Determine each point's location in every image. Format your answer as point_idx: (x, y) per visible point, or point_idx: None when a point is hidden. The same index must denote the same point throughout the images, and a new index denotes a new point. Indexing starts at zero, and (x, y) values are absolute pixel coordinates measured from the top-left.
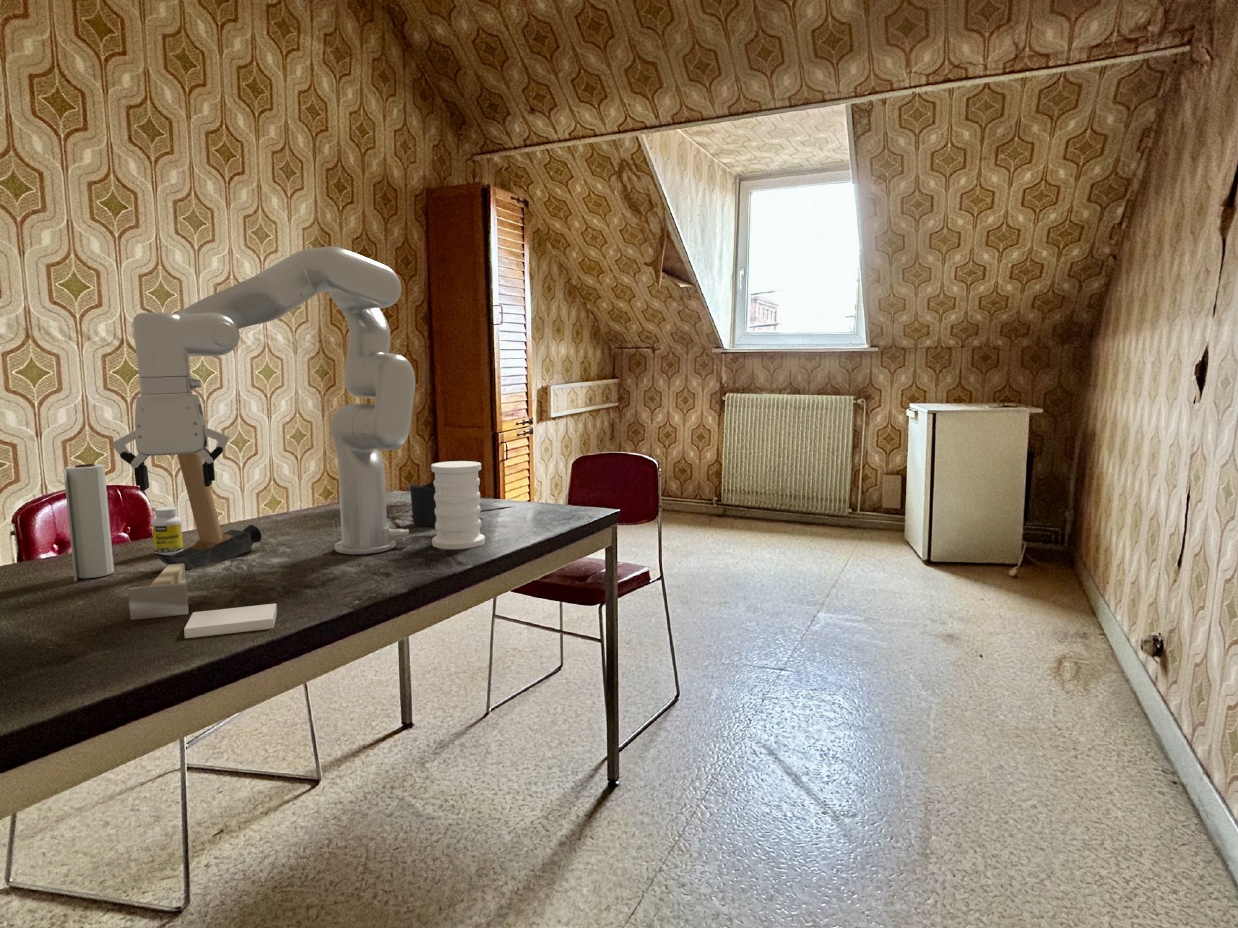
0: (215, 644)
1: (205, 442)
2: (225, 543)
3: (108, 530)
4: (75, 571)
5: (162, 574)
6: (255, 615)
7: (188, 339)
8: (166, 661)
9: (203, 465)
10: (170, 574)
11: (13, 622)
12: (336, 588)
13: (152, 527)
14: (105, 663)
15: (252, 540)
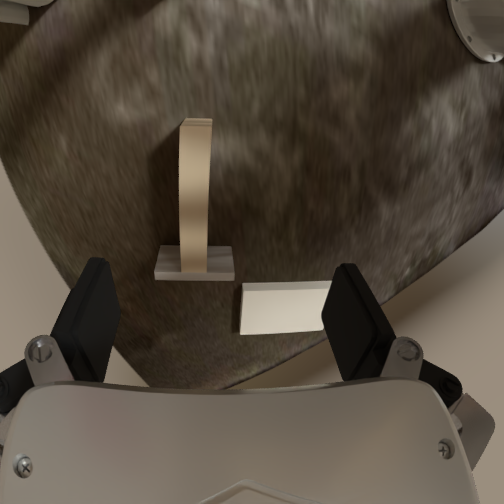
0: (267, 345)
1: (442, 404)
2: None
3: None
4: (20, 18)
5: (184, 206)
6: (309, 318)
7: None
8: (231, 364)
9: (347, 379)
10: (199, 211)
11: (28, 216)
12: (411, 212)
13: None
14: (183, 356)
15: None
